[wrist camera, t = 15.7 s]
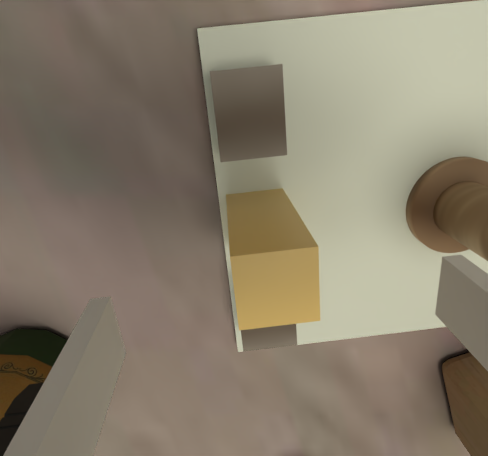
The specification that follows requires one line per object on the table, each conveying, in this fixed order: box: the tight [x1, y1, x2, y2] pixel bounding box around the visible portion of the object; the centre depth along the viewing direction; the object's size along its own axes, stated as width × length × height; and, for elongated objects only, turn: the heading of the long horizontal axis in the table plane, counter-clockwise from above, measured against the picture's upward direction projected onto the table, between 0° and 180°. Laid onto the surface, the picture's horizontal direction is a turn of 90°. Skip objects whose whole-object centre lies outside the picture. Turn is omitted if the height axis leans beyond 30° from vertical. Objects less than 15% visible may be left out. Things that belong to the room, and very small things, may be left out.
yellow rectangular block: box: [226, 188, 320, 330], centre depth 22 cm, size 4×4×10 cm
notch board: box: [210, 64, 297, 351], centre depth 25 cm, size 19×4×3 cm, turn 5°
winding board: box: [197, 0, 488, 352], centre depth 27 cm, size 24×22×1 cm
